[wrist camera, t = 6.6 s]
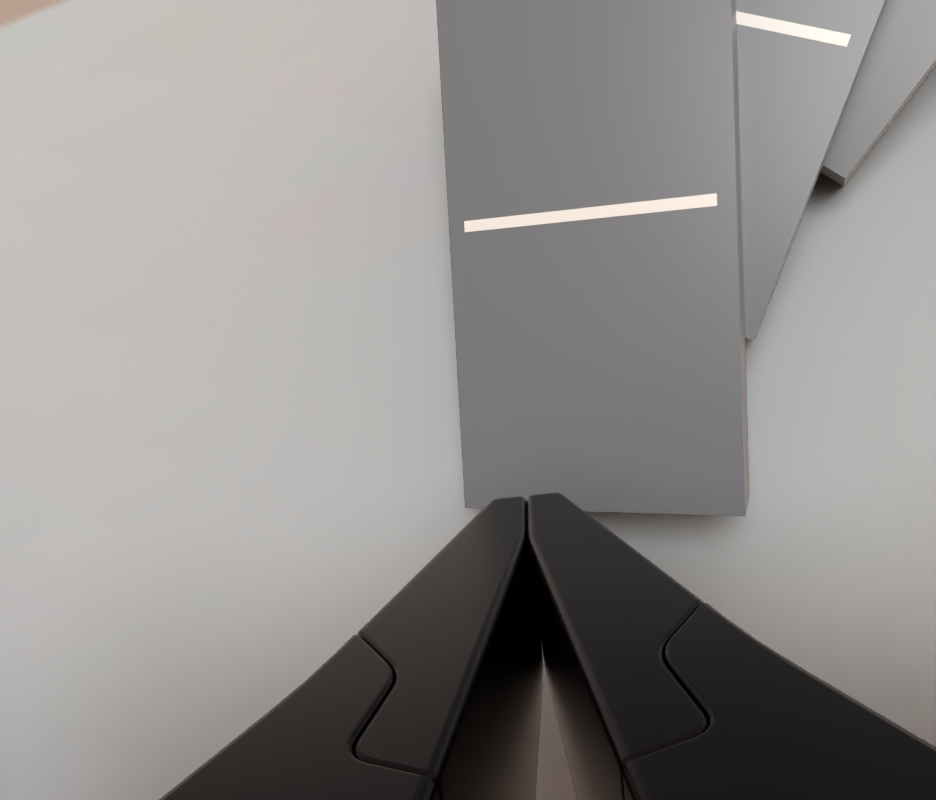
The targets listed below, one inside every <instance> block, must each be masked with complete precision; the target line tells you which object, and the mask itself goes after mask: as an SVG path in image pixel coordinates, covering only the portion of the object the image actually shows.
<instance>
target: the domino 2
mask: <svg viewBox="0 0 936 800" xmlns="http://www.w3.org/2000/svg"><path fill="white" fill-rule="evenodd" d="M886 2H887V0H736V21H737V58H738V94H739V131H740V168H741V205H742V242H743V279H744V315H745V338H747V339H750V340H753V339H754V338H756V335H757V333H758V330H759V327H760V325H761V322H762V320H763V317H764V315H765V312H766V309H767V307H768V304H769V302H770V299H771V297H772V294H773V292H774V289H775V286H776V284H777V281H778V279H779V276H780V274H781V271H782V268H783V266H784V263H785V261H786V258H787V256H788V253H789V251H790V248H791V245H792V243H793V240H794V238H795V235H796V233H797V230H798V227H799V225H800V222H801V220H802V217H803V215H804V212H805V210H806V207H807V204H808V202H809V199H810V197H811V194H812V192H813V189H814V186H815V184H816V181H817V179H818V176H819V174H820V171H821V169H822V166H823V163H824V161H825V158H826V156H827V153H828V151H829V148H830V145H831V143H832V140H833V138H834V135H835V133H836V130H837V128H838V125H839V122H840V120H841V117H842V115H843V112H844V110H845V107H846V105H847V102H848V99H849V97H850V94H851V92H852V89H853V87H854V84H855V81H856V79H857V76H858V74H859V71H860V69H861V66H862V64H863V61H864V58H865V56H866V53H867V51H868V48H869V46H870V43H871V40H872V38H873V35H874V33H875V30H876V28H877V25H878V23H879V20H880V17H881V15H882V12H883V10H884V7H885V5H886Z"/></svg>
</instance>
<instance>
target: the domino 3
mask: <svg viewBox="0 0 936 800" xmlns="http://www.w3.org/2000/svg"><path fill="white" fill-rule="evenodd" d="M935 66H936V0H887V2H886V5H885V7H884V10H883V12H882V15H881V17H880V20H879V23H878V25H877V28H876V30H875V33H874V35H873V38H872V40H871V43H870V46H869V48H868V51H867V53H866V56H865V58H864V61H863V64H862V66H861V69H860V71H859V74H858V76H857V79H856V81H855V84H854V87H853V89H852V92H851V94H850V97H849V99H848V102H847V105H846V107H845V110H844V112H843V115H842V117H841V120H840V122H839V125H838V128H837V130H836V133H835V135H834V138H833V140H832V143H831V145H830V148H829V151H828V153H827V156H826V158H825V161H824V163H823V166H822V169H821V171H820V173H822V174H824V175H825V176H827V177H829V178H830V179H832V180H834V181H835V182H837V183H839V184H840V185H842V186H843V187H844V185H845V184H846V183H847V182H848V180H849V179H850V178H851V176H852V175H853V174H854V172H855V171H856V170H857V168H858V167H859V166H860V164H861V163H862V162H863V160H864V159H865V158H866V157H867V155H868V154H869V153H870V151H871V150H872V149H873V147H874V146H875V145H876V143H877V142H878V141H879V139H880V138H881V137H882V135H883V134H884V133H885V131H886V130H887V129H888V128H889V126H890V125H891V124H892V122H893V121H894V120H895V118H896V117H897V116H898V114H899V113H900V112H901V110H902V109H903V108H904V106H905V105H906V104H907V103H908V101H909V100H910V99H911V97H912V96H913V95H914V93H915V92H916V91H917V89H918V88H919V87H920V85H921V84H922V83H923V81H924V80H925V79H926V78H927V76H928V75H929V74H930V72H931V71H932V70H933V68H934V67H935Z"/></svg>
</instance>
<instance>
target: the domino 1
mask: <svg viewBox="0 0 936 800" xmlns="http://www.w3.org/2000/svg"><path fill="white" fill-rule="evenodd" d="M436 7H437V25H438V42H439V60H440V77H441V94H442V112H443V129H444V147H445V164H446V181H447V199H448V216H449V234H450V251H451V268H452V286H453V303H454V321H455V338H456V356H457V373H458V390H459V408H460V425H461V443H462V460H463V477H464V495H465V508H485V507H486V506H487V505H488V504H489V503H490V502H491V501H492V500H494V499H499V498H508V497H518V496H521V497H524V498H525V499H526V502H527V499H528V497H529V496H531V495H537V494H546V493H560V494H562V495H564V496H565V497H566V498H568V499H569V500H570V501H572V502H573V503H574V504H576V505H577V506H578V507H579V508H581V509H582V510H583V511H587V512H621V513H654V514H687V515H720V516H745V515H746V510H747V505H748V501H749V463H748V426H747V389H746V352H745V315H744V279H743V242H742V205H741V168H740V131H739V94H738V58H737V21H736V0H436Z"/></svg>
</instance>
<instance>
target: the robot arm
mask: <svg viewBox="0 0 936 800" xmlns="http://www.w3.org/2000/svg"><path fill="white" fill-rule="evenodd" d="M542 647H543V651H542ZM543 655H544V662H545V668H546V673H547V678H548V683H549V687H550V691H551V695H552V699H553V703H554V707H555V712H556V716H557V720H558V724H559V728H560V732H561V736H562V741H563V745H564V749H565V753H566V757H567V761H568V765H569V769H570V774H571V778H572V782H573V786H574V790H575V794H576V798H577V800H936V747H935V746H933V745H931V744H930V743H928V742H926V741H925V740H923V739H921V738H919V737H918V736H916V735H914V734H913V733H911V732H909V731H908V730H906V729H904V728H902V727H901V726H899V725H897V724H896V723H894V722H892V721H891V720H889V719H887V718H885V717H884V716H882V715H880V714H879V713H877V712H875V711H874V710H872V709H870V708H869V707H867V706H865V705H863V704H862V703H860V702H858V701H857V700H855V699H853V698H852V697H850V696H848V695H846V694H845V693H843V692H841V691H840V690H838V689H836V688H835V687H833V686H831V685H830V684H828V683H826V682H824V681H823V680H821V679H819V678H818V677H816V676H814V675H813V674H811V673H809V672H807V671H806V670H804V669H803V668H801V667H799V666H798V665H796V664H794V663H793V662H791V661H790V660H788V659H786V658H785V657H783V656H782V655H780V654H778V653H777V652H775V651H774V650H772V649H770V648H769V647H767V646H766V645H764V644H762V643H761V642H759V641H758V640H757V639H755V638H754V637H752V636H751V635H750V634H748V633H747V632H745V631H744V630H743V629H741V628H740V627H738V626H737V625H735V624H734V623H733V622H731V621H730V620H728V619H727V618H726V617H724V616H723V615H722V614H720V613H719V612H718V611H716V610H715V609H714V608H712V607H711V606H710V605H709V604H707V603H703V602H702V601H701V600H700V599H699V598H698V597H696V596H695V595H694V594H692V593H691V592H690V591H688V590H687V589H686V588H684V587H683V586H682V585H680V584H679V583H678V582H677V581H675V580H674V579H673V578H671V577H670V576H669V575H667V574H666V573H665V572H663V571H662V570H661V569H659V568H658V567H657V566H656V565H654V564H653V563H652V562H650V561H649V560H648V559H646V558H645V557H644V556H642V555H641V554H640V553H638V552H637V551H636V550H635V549H633V548H632V547H631V546H629V545H628V544H627V543H625V542H624V541H623V540H621V539H620V538H619V537H618V536H616V535H615V534H614V533H612V532H611V531H610V530H608V529H607V528H606V527H604V526H603V525H602V524H600V523H599V522H598V521H597V520H595V519H594V518H593V517H591V516H590V515H589V514H587V513H586V512H585V511H583V510H582V509H581V508H579V507H578V506H577V505H576V504H574V503H573V502H572V501H570V500H569V499H568V498H566V497H565V496H564V495H562V494H560V493H546V494H537V495H531V496H529V497H528V499H527V502H526V499H525V498H524V497H521V496H518V497H508V498H499V499H494V500H492V501H491V502H490V503H489V504H488V505H487V506H486V507H485V508H484V509H483V510H482V511H481V512H480V513H479V514H478V515H477V516H476V517H475V518H474V519H473V520H472V521H470V522H469V523H468V524H467V525H466V526H465V527H464V528H463V529H462V530H461V531H460V532H459V533H458V534H457V535H456V536H455V537H454V538H453V539H452V540H451V541H450V542H449V543H448V544H447V545H446V546H445V547H444V548H443V549H442V550H441V551H440V552H439V553H438V554H437V555H436V556H435V557H434V558H433V559H432V560H431V561H430V562H429V563H428V564H427V565H426V566H425V567H424V568H423V569H422V570H421V571H420V572H419V573H418V574H417V575H416V576H415V577H414V578H413V579H412V580H411V581H410V582H409V583H408V584H407V585H406V586H405V587H404V588H403V589H402V590H401V591H400V592H399V593H398V594H397V595H396V596H394V597H393V598H392V599H391V600H390V601H389V602H388V603H387V604H386V605H385V606H384V607H383V608H382V609H381V610H380V611H379V612H378V613H377V614H376V615H375V616H374V617H373V618H372V619H371V620H370V621H369V622H368V623H367V624H366V625H365V626H364V627H363V628H362V629H361V630H360V631H359V632H358V635H354V636H352V637H351V638H350V639H349V640H348V641H347V642H346V643H345V644H344V645H343V646H342V647H341V648H340V649H339V650H338V651H337V652H336V653H335V654H334V655H333V656H332V657H331V658H330V659H329V660H327V661H326V662H325V663H324V664H323V665H322V666H321V667H320V668H319V669H318V670H317V671H316V672H315V673H313V674H312V675H311V676H310V677H309V678H308V679H307V680H306V681H305V682H304V683H303V684H301V685H300V686H299V687H298V688H297V689H295V690H294V691H293V692H292V693H291V694H289V695H288V696H287V697H286V698H285V699H283V700H282V701H281V702H280V703H279V704H277V705H276V706H275V707H274V708H273V709H272V710H270V711H269V712H268V713H267V714H266V715H264V716H263V717H262V718H261V719H259V720H258V721H257V722H256V723H254V724H253V725H252V726H251V727H249V728H248V729H247V730H246V731H244V732H243V733H242V734H241V735H239V736H238V737H237V738H236V739H234V740H233V741H232V742H231V743H229V744H228V745H227V746H226V747H224V748H223V749H222V750H221V751H219V752H218V753H217V754H216V755H214V756H213V757H212V758H211V759H209V760H208V761H207V762H206V763H204V764H203V765H202V766H201V767H199V768H198V769H197V770H196V771H194V772H193V773H192V774H191V775H189V776H188V777H187V778H186V779H184V780H183V781H182V782H181V783H179V784H178V785H177V786H176V787H175V788H173V789H172V790H171V791H170V792H168V793H167V794H166V795H165V796H163V797H162V798H161V799H160V800H535V796H536V781H537V765H538V749H539V733H540V718H541V702H542V686H543Z"/></svg>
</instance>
